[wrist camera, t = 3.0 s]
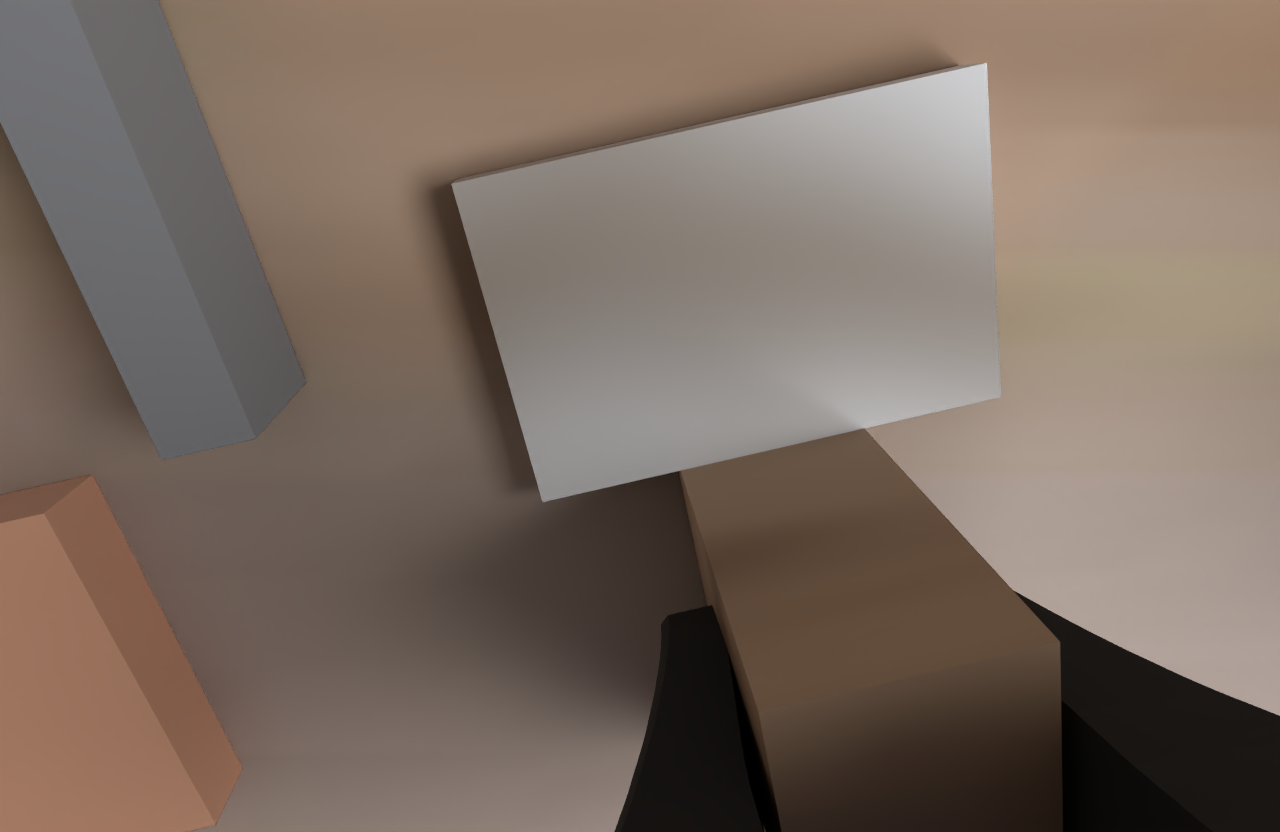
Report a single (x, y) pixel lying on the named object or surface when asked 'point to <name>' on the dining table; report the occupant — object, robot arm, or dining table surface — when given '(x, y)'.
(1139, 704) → the robot arm
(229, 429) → the bay
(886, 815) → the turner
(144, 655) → the tile
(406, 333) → the dining table surface
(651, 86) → the dining table surface
